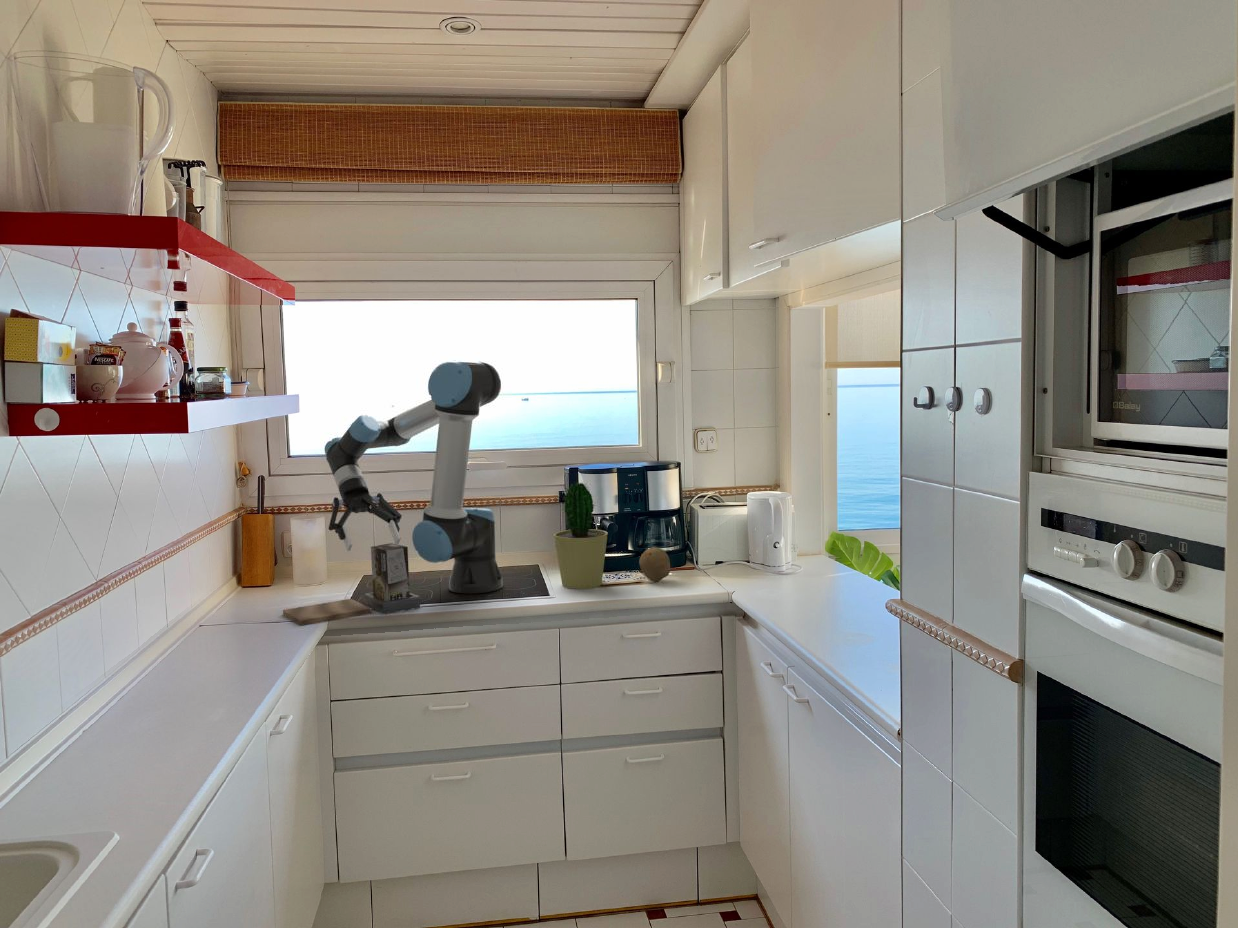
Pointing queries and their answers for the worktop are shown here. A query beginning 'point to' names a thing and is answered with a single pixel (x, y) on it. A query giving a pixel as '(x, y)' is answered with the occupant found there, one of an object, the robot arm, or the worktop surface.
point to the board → (326, 611)
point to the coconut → (655, 564)
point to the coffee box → (390, 571)
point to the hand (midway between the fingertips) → (374, 544)
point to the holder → (391, 603)
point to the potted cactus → (580, 542)
